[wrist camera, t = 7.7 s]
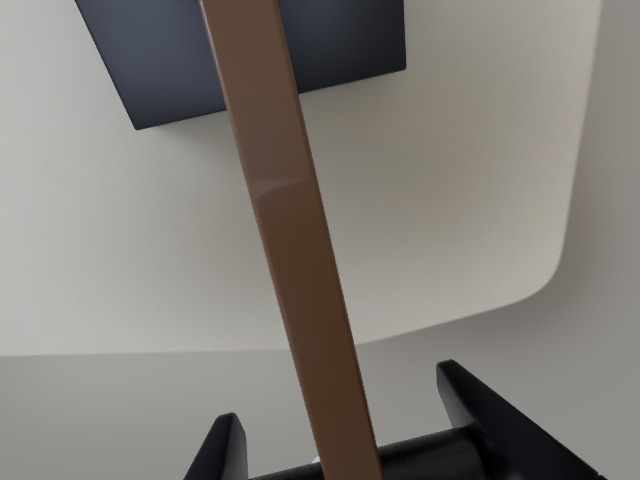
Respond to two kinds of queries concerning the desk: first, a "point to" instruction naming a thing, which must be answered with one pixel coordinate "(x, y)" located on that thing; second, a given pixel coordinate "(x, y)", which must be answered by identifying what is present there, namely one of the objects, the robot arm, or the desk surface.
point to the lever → (309, 259)
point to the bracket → (197, 60)
